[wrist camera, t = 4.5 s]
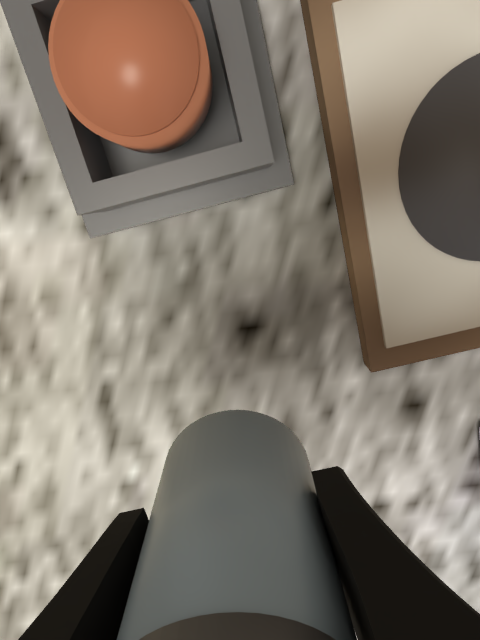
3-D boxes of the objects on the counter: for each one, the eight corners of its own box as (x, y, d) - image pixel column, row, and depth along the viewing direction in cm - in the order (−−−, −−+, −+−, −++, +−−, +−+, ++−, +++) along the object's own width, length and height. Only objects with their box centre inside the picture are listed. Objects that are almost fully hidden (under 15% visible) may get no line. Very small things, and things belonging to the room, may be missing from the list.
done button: (226, 135, 13) (224, 121, 10) (108, 167, 13) (79, 161, 11) (191, -11, 12) (180, -65, 9) (62, 28, 12) (18, -14, 10)
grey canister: (324, 517, 12) (443, 960, 5) (186, 546, 12) (120, 1001, 5) (294, 392, 10) (398, 747, 4) (143, 427, 11) (-18, 815, 4)
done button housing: (292, 184, 15) (304, 182, 12) (94, 237, 16) (63, 246, 13) (240, -67, 13) (242, -142, 10) (11, 4, 14) (-49, -48, 11)
